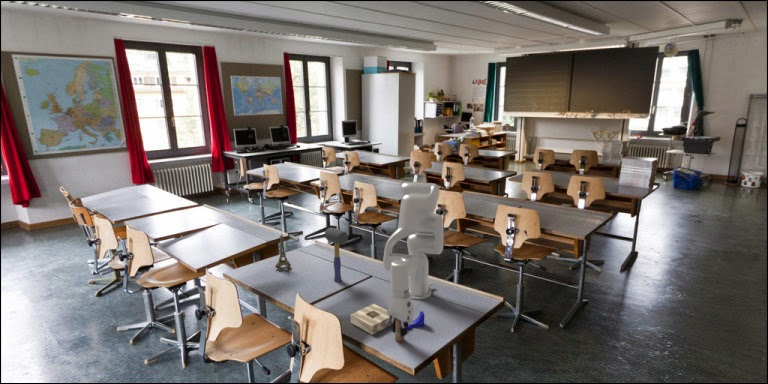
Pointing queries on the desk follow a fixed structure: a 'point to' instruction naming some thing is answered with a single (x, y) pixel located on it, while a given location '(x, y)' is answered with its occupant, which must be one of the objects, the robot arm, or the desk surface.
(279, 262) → the eiffel tower
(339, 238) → the rubber mallet
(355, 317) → the board
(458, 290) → the desk surface
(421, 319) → the blue u-shaped cradle
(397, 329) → the peg
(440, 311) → the desk surface
